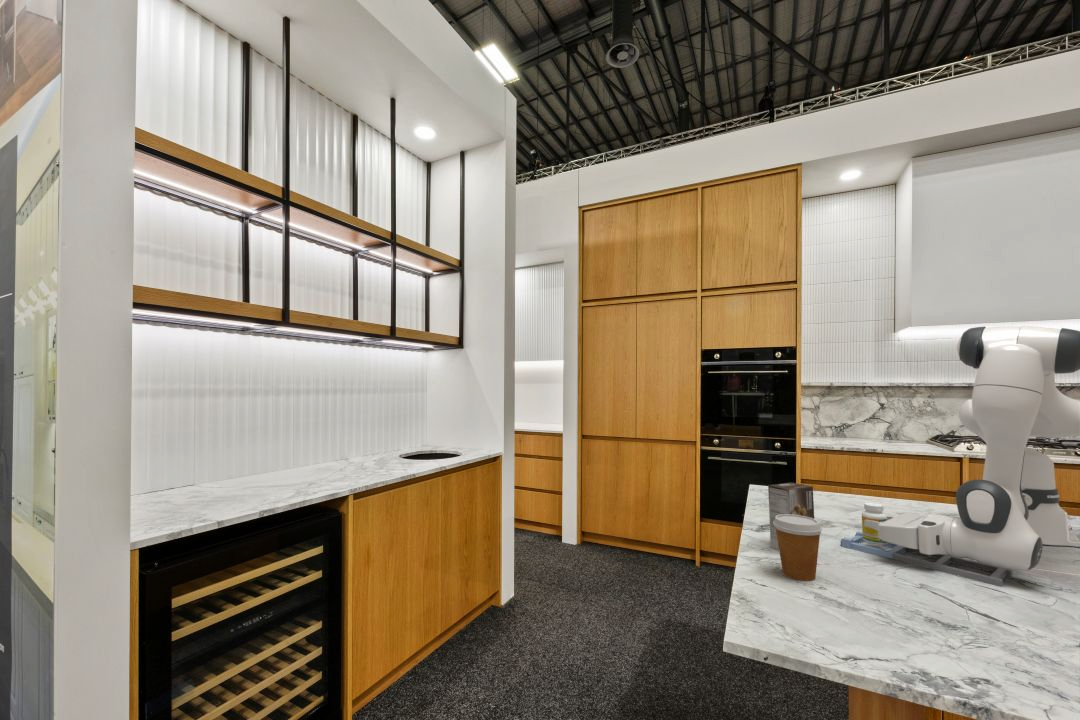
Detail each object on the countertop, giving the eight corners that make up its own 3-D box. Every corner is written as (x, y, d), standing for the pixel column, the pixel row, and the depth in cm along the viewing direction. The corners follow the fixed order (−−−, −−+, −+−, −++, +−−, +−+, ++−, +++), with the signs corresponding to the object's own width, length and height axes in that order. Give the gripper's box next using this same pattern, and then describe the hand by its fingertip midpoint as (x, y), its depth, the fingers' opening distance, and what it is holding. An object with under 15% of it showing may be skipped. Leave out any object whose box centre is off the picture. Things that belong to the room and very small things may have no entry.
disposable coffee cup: (819, 588, 93) (816, 528, 93) (768, 575, 99) (767, 519, 100) (828, 574, 100) (826, 519, 100) (781, 563, 106) (779, 511, 107)
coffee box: (793, 542, 121) (791, 481, 122) (816, 550, 115) (814, 486, 116) (769, 547, 117) (767, 484, 118) (792, 555, 111) (789, 489, 112)
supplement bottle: (867, 537, 120) (866, 501, 121) (892, 543, 115) (890, 505, 116) (859, 541, 117) (857, 503, 118) (883, 547, 112) (881, 507, 113)
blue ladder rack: (857, 538, 124) (857, 530, 124) (1013, 574, 100) (1012, 565, 100) (839, 546, 118) (839, 538, 118) (1001, 587, 93) (1000, 577, 94)
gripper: (951, 513, 112) (884, 502, 123) (924, 527, 100) (853, 513, 112) (953, 539, 112) (886, 526, 123) (926, 556, 100) (854, 539, 111)
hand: (870, 520), depth 117 cm, fingers closed on supplement bottle, 5 cm apart
